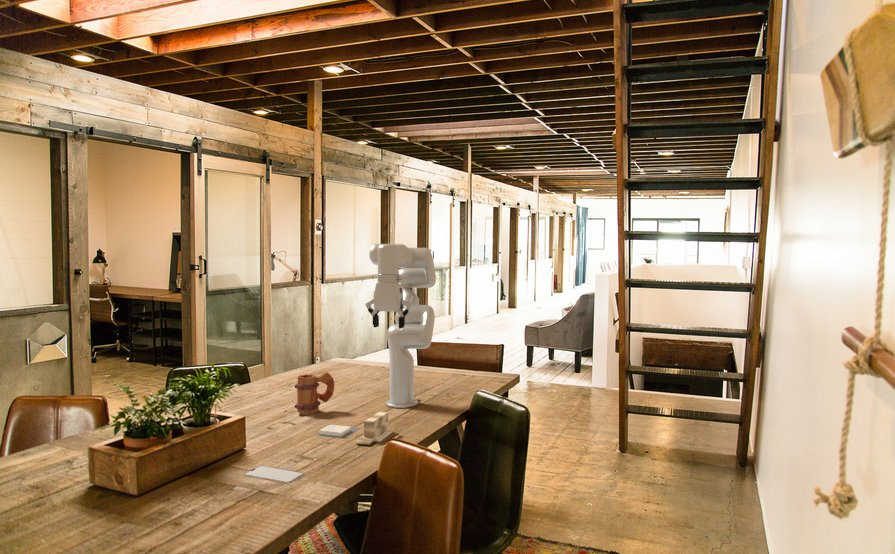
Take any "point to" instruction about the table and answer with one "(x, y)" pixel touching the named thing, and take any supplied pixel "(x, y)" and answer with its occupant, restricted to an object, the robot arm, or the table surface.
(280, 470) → the smartphone
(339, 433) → the tile
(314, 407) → the mug
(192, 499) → the table surface
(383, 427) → the beige piece
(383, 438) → the pad
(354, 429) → the mat
